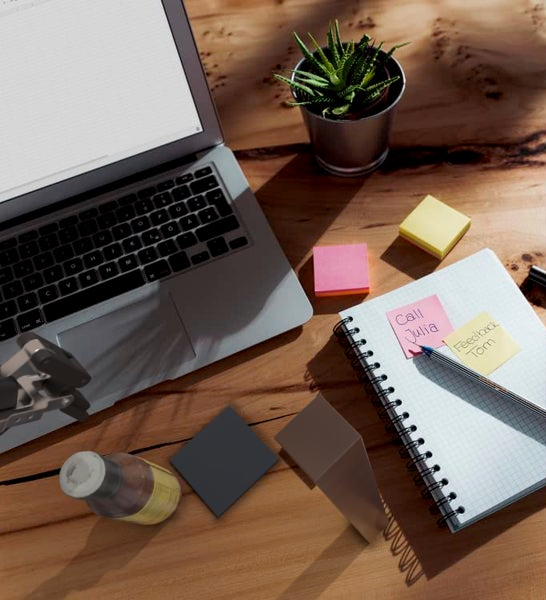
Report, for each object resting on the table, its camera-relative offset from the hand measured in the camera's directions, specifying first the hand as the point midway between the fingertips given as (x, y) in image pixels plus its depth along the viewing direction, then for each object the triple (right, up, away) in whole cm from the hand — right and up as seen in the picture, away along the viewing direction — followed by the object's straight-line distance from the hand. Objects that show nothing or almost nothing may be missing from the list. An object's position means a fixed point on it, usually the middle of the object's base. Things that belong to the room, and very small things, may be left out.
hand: (31, 450), depth 50 cm
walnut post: (+24, -14, +24) cm, 37 cm away
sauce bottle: (0, -11, +26) cm, 28 cm away
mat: (+7, -7, +27) cm, 29 cm away
